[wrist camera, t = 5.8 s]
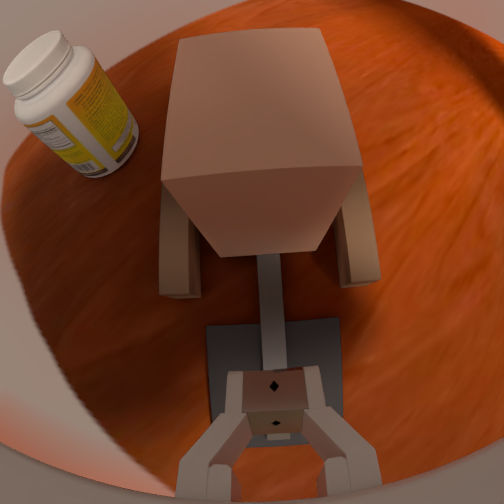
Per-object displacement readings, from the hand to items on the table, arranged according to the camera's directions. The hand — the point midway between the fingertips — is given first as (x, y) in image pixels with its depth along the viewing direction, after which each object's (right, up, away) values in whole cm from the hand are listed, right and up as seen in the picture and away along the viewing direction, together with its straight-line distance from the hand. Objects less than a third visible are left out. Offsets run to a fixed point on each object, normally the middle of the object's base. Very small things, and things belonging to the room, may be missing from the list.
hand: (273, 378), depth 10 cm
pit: (0, -3, +5) cm, 6 cm away
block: (0, +7, +7) cm, 10 cm away
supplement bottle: (-11, +12, +10) cm, 19 cm away
